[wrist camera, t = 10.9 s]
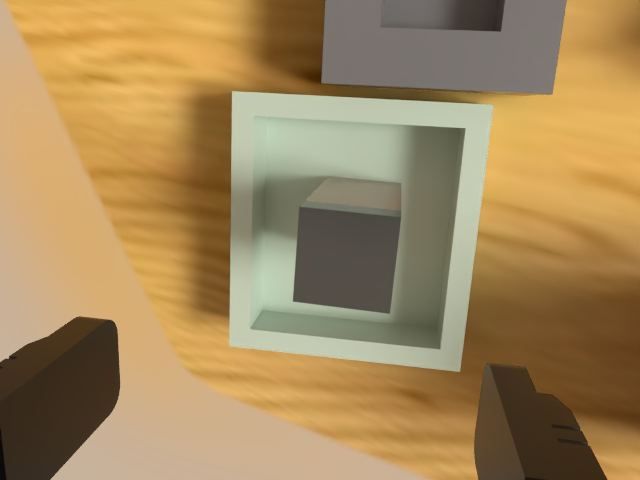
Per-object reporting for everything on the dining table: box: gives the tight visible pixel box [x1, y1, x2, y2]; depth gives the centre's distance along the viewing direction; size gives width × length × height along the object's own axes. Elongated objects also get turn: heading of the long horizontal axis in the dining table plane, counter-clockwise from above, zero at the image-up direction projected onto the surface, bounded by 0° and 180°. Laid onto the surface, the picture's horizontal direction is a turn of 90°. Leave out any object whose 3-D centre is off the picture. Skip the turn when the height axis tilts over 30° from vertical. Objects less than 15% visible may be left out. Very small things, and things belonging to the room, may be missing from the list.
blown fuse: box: [293, 176, 401, 314], centre depth 23 cm, size 4×4×8 cm
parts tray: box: [229, 91, 494, 372], centre depth 26 cm, size 12×11×3 cm
